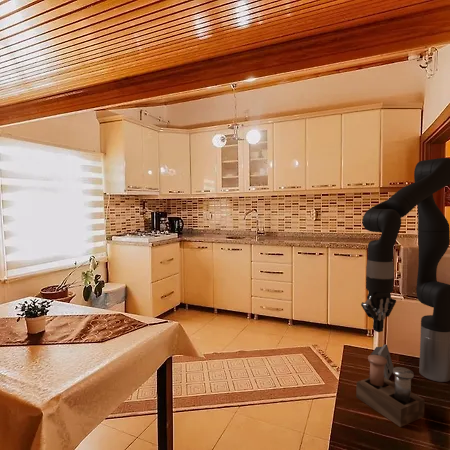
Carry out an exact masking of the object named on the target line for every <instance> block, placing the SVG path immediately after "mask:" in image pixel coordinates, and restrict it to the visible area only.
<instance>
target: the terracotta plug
mask: <svg viewBox="0 0 450 450" xmlns="http://www.w3.org/2000/svg"><path fill="white" fill-rule="evenodd" d="M367 361H368V362H369V365H370V366H369V378H370V383H371V384H373V385H375V386H383V385H384V378H385V377H384V366H385V365H386V364H387V359H386V358H384V357H382V356H379V355H373V354H372V355H371V354H370V355H368V356H367Z"/></svg>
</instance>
